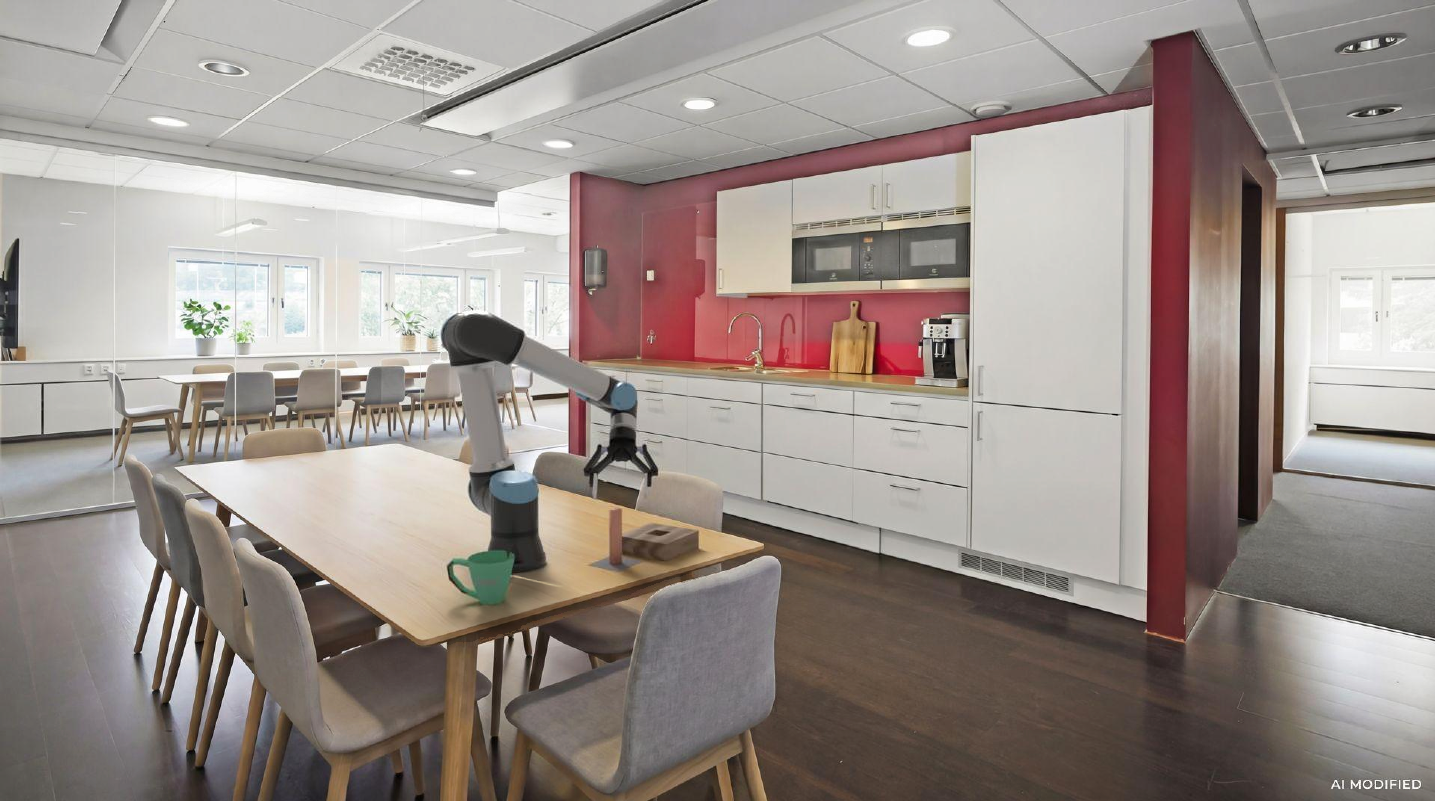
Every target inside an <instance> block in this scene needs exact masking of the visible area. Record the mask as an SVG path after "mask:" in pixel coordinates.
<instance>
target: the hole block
mask: <svg viewBox="0 0 1435 801" xmlns="http://www.w3.org/2000/svg"><path fill="white" fill-rule="evenodd" d="M699 532H700V531H699V530H698V529H692V528H687V527H686V528H685V527H680V526H674V525H673V526H672V525H668V524H662V523H655V522H649V523H647V524H644V525H641V526H638V527H636V528H632V529H631V530H630V529H629V530H628V531H625V532H622V554H624V555H625V554H626V555H630V556H636V557H640V558H641V557H642V558H645V559H651V560H655V561H662V562H667V561H670V560H672V559H674V558H677V557H678V556H681V555H683V554H686V553H687V552H690V551H696V550H697V549H699V546H700V542H699V541H700V539H699V538H700V533H699Z"/></svg>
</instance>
